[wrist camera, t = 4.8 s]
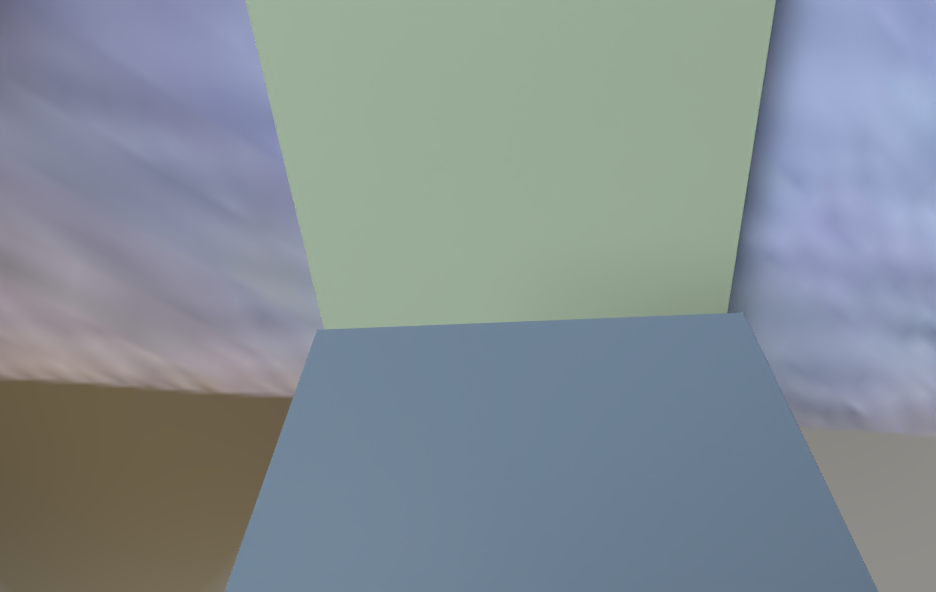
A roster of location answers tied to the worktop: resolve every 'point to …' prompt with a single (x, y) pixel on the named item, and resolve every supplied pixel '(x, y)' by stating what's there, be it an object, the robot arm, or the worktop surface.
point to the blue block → (545, 465)
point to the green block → (515, 153)
